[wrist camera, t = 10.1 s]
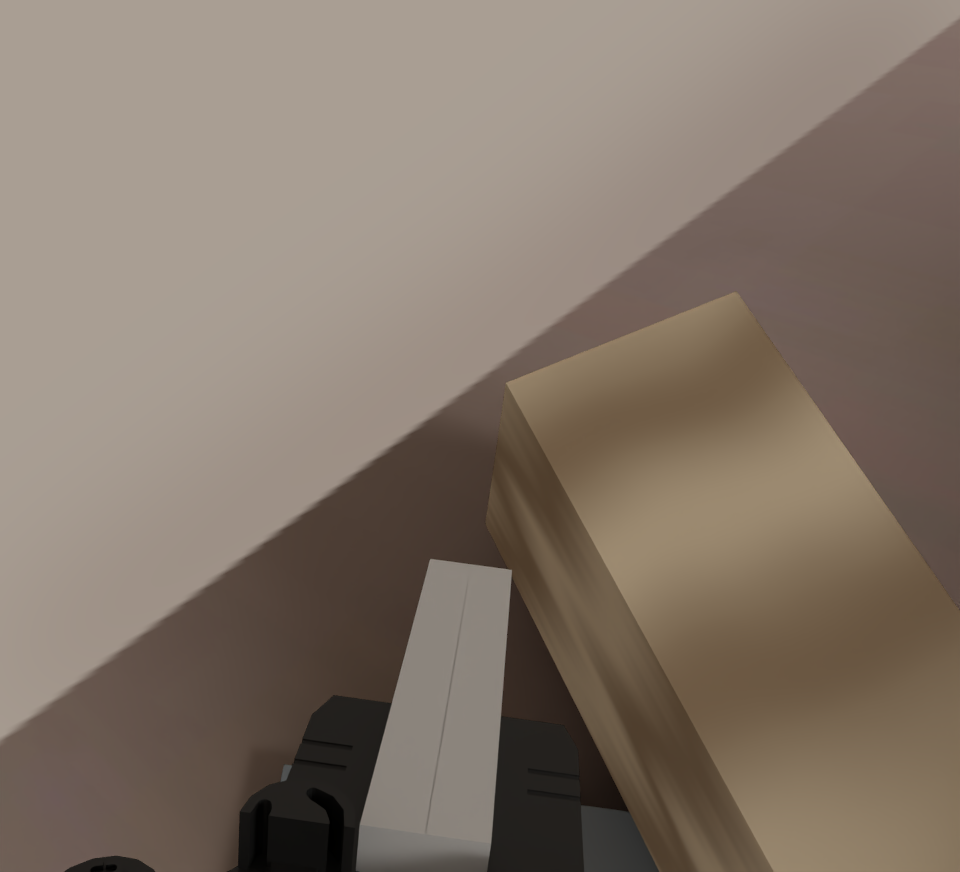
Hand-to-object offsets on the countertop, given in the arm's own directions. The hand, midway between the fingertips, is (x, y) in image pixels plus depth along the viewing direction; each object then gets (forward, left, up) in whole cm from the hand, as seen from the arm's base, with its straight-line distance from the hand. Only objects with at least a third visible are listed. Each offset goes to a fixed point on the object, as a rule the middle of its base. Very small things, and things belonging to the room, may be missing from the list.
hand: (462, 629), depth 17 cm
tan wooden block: (-8, +1, -10) cm, 13 cm away
